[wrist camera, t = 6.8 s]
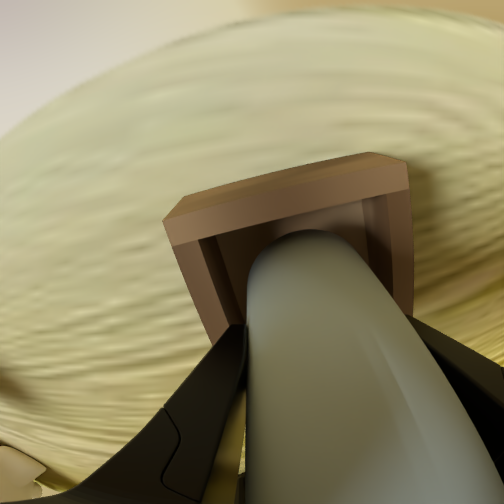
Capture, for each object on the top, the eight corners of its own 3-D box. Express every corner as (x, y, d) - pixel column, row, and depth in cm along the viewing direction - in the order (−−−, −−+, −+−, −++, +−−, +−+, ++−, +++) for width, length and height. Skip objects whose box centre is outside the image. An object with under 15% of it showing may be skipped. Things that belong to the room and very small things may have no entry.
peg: (385, 276, 10) (528, 508, 2) (307, 349, 11) (353, 586, 3) (304, 203, 9) (487, 552, 1) (222, 294, 10) (188, 599, 2)
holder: (368, 151, 10) (406, 162, 8) (384, 307, 13) (410, 348, 10) (183, 196, 11) (162, 220, 8) (236, 344, 14) (234, 392, 11)
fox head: (1, 499, 22) (82, 546, 20) (-69, 474, 11) (1, 542, 9) (9, 441, 32) (88, 475, 30) (-57, 404, 20) (9, 449, 18)
